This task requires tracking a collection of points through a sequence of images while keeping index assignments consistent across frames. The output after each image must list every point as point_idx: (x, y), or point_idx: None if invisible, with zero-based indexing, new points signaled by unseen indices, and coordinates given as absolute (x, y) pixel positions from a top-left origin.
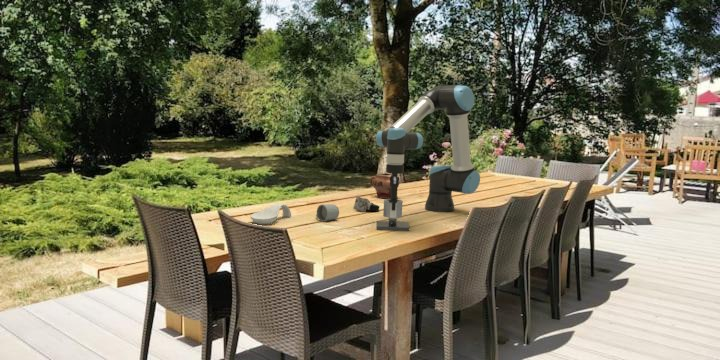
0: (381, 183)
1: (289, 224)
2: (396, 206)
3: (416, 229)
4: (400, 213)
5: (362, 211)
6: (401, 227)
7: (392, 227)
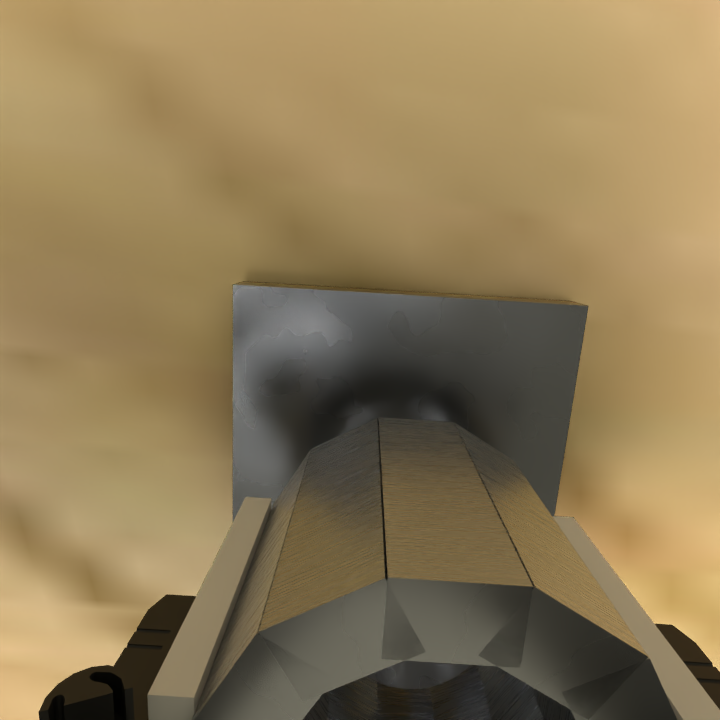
0: None
1: None
2: (677, 659)
3: (472, 198)
4: (512, 476)
5: None
6: (572, 400)
7: (555, 497)
